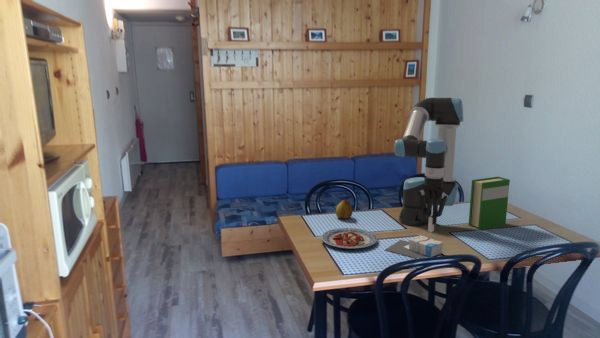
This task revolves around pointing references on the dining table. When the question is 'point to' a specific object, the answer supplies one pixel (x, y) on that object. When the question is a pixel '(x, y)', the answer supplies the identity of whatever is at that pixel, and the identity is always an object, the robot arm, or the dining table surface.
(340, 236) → the ceramic plate
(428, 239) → the ink box
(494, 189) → the hardback book
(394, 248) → the mat
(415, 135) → the robot arm
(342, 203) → the fruit
